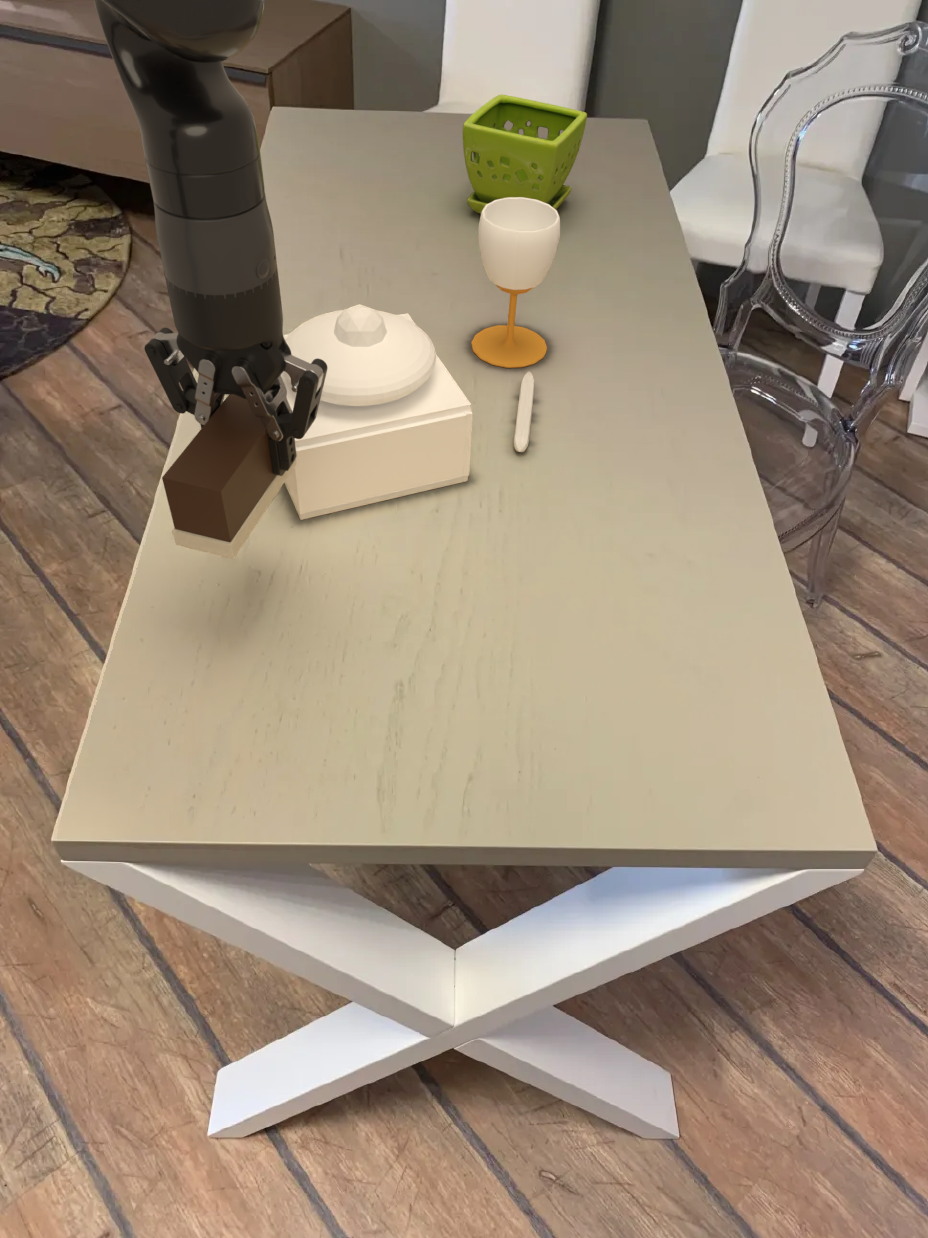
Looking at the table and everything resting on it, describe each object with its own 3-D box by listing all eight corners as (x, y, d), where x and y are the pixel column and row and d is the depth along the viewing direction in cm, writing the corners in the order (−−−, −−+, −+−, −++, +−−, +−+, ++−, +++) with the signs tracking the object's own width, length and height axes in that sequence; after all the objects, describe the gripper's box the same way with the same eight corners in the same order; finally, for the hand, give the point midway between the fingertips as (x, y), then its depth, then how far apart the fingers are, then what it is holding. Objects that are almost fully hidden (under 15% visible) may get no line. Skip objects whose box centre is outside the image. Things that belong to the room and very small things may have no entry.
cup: (547, 329, 115) (563, 198, 103) (546, 371, 109) (562, 237, 97) (474, 323, 116) (481, 192, 104) (468, 364, 110) (475, 230, 98)
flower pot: (546, 240, 131) (557, 144, 122) (455, 217, 134) (458, 123, 125) (579, 200, 140) (591, 109, 131) (492, 181, 143) (498, 90, 134)
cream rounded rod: (535, 381, 108) (536, 368, 107) (527, 457, 98) (528, 444, 97) (521, 380, 108) (522, 367, 107) (511, 455, 99) (513, 442, 97)
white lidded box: (300, 520, 90) (284, 378, 79) (254, 414, 101) (234, 276, 90) (469, 481, 95) (477, 341, 84) (408, 384, 106) (407, 249, 95)
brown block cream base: (243, 452, 80) (233, 387, 75) (296, 464, 79) (289, 399, 74) (175, 545, 72) (158, 478, 67) (233, 559, 71) (220, 493, 66)
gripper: (340, 255, 65) (351, 453, 77) (152, 220, 67) (193, 418, 80) (296, 309, 60) (316, 511, 73) (95, 269, 62) (149, 472, 75)
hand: (252, 461), depth 76 cm, fingers closed on brown block cream base, 4 cm apart
